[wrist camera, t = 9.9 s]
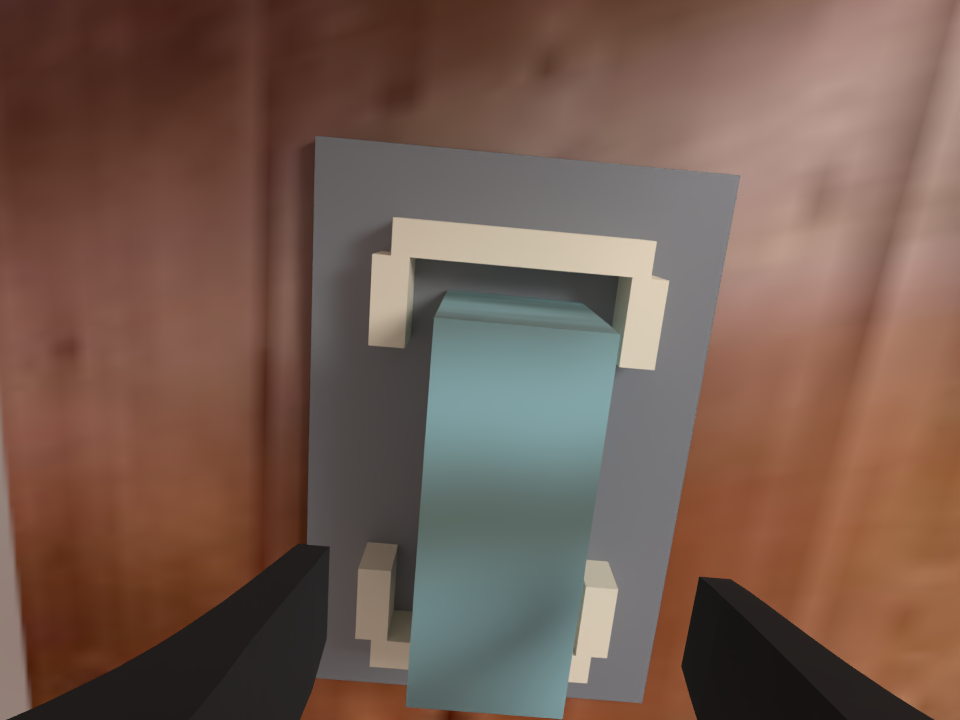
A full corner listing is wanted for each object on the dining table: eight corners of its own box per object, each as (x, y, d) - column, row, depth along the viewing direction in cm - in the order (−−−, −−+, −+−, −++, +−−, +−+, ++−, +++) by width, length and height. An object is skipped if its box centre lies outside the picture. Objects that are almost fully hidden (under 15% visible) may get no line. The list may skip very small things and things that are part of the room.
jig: (637, 689, 21) (654, 739, 19) (309, 664, 21) (290, 712, 19) (731, 176, 17) (765, 170, 15) (321, 138, 17) (298, 127, 15)
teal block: (542, 595, 20) (562, 719, 15) (424, 585, 20) (405, 706, 15) (581, 301, 17) (620, 334, 12) (447, 289, 17) (433, 317, 12)
